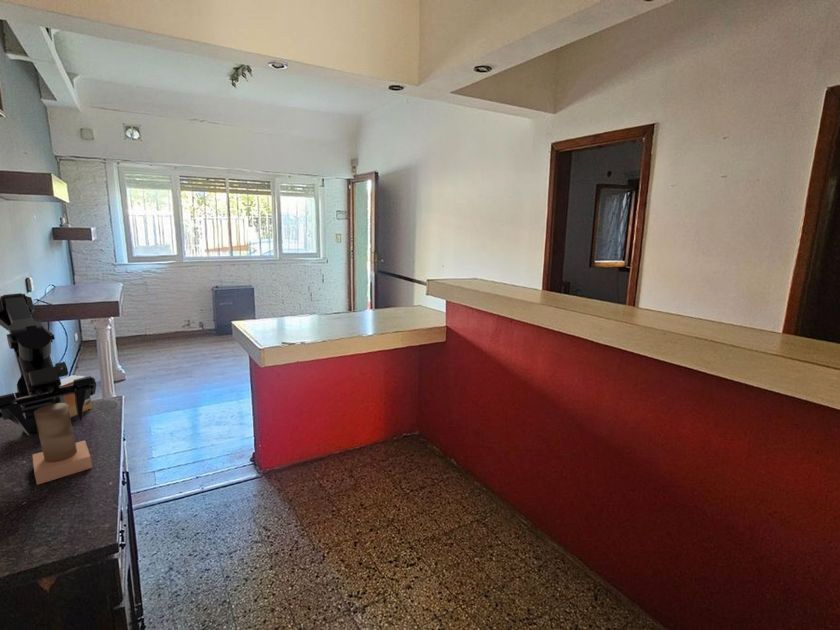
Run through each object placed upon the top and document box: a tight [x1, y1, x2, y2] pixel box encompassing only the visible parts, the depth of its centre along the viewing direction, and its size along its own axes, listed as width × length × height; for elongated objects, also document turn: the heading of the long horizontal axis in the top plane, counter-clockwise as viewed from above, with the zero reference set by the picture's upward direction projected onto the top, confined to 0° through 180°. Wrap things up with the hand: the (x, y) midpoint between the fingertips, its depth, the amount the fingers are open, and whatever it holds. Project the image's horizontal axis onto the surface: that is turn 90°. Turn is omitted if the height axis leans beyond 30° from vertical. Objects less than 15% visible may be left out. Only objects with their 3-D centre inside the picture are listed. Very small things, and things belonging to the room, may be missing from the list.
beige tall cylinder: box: [34, 403, 77, 462], centre depth 102 cm, size 6×6×12 cm
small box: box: [60, 374, 93, 419], centre depth 130 cm, size 8×6×10 cm
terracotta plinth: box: [32, 440, 93, 486], centre depth 103 cm, size 10×10×3 cm
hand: (56, 427), depth 101 cm, fingers open, 9 cm apart
